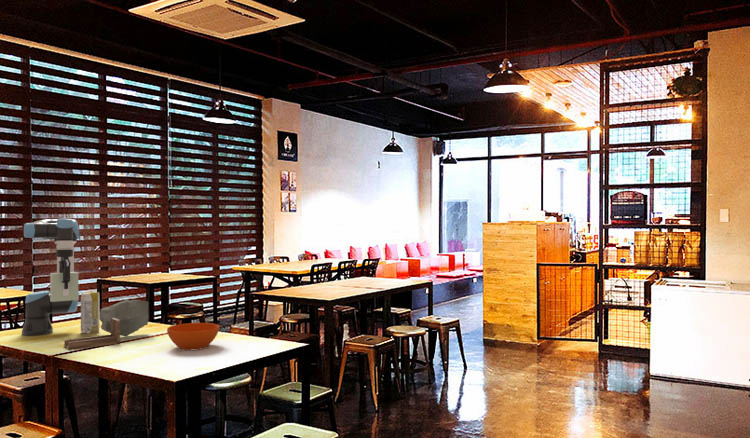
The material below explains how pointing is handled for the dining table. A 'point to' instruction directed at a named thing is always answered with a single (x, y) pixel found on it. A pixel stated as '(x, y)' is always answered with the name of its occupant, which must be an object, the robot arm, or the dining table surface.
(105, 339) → the track
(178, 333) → the bowl
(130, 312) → the rock
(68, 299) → the door panel
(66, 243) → the robot arm
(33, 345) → the dining table surface
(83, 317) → the juice carton
